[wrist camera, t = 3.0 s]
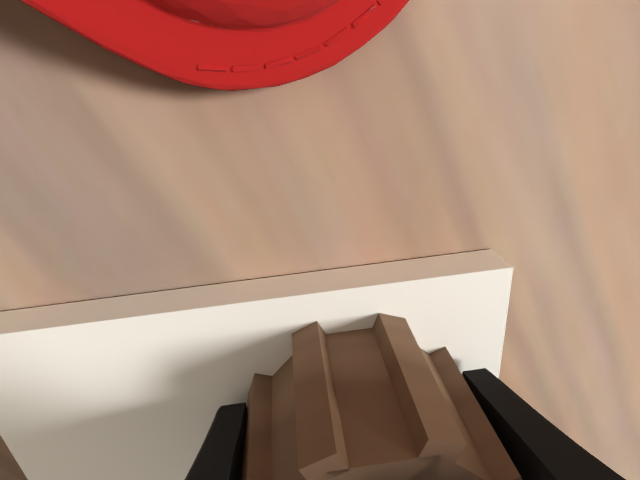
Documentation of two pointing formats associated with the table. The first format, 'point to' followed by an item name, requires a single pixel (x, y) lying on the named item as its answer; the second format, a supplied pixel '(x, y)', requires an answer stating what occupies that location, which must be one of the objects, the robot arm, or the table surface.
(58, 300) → the table surface
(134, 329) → the gear board
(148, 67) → the red peeler
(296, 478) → the walnut gear
